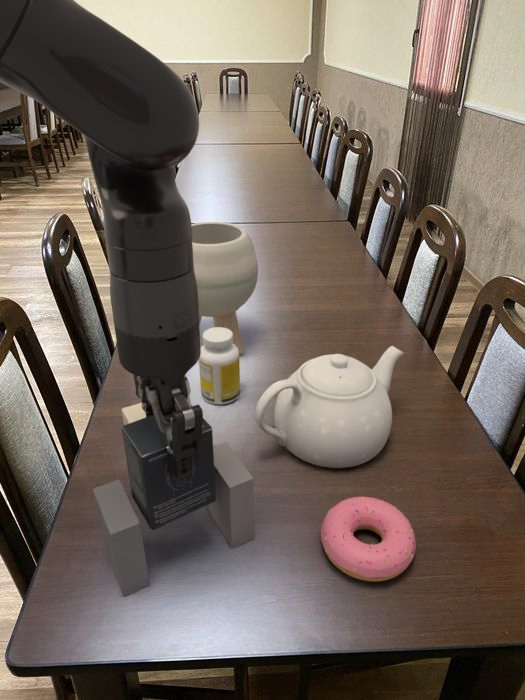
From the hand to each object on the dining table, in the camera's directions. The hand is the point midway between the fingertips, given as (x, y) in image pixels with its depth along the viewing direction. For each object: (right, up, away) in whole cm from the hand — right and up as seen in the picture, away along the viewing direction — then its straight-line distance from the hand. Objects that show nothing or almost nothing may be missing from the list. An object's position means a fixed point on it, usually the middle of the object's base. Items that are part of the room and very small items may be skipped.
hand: (169, 455), depth 56 cm
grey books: (0, -12, +7) cm, 14 cm away
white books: (-4, -6, +16) cm, 18 cm away
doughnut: (+22, -12, +7) cm, 26 cm away
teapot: (+20, -2, +25) cm, 32 cm away
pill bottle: (+3, +4, +33) cm, 33 cm away
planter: (+1, +12, +47) cm, 48 cm away
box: (0, -6, +4) cm, 7 cm away
